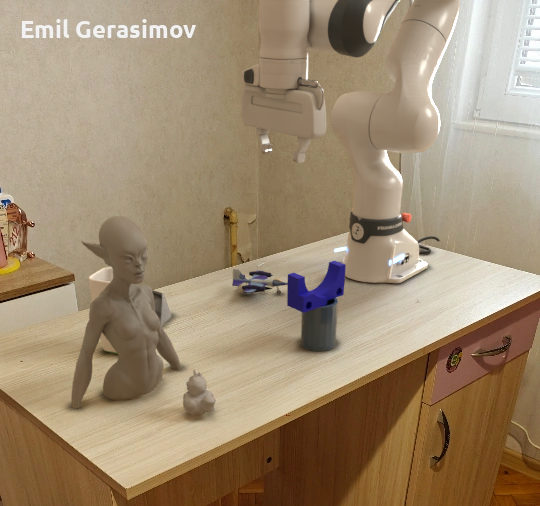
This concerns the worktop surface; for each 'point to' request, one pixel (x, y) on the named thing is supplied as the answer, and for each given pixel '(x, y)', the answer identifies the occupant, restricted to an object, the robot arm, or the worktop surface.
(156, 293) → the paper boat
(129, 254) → the elf figurine
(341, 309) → the worktop surface
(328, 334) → the tumbler
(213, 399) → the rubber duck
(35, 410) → the worktop surface
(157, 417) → the worktop surface
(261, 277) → the toy airplane
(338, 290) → the blue half clamp bracket
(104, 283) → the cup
